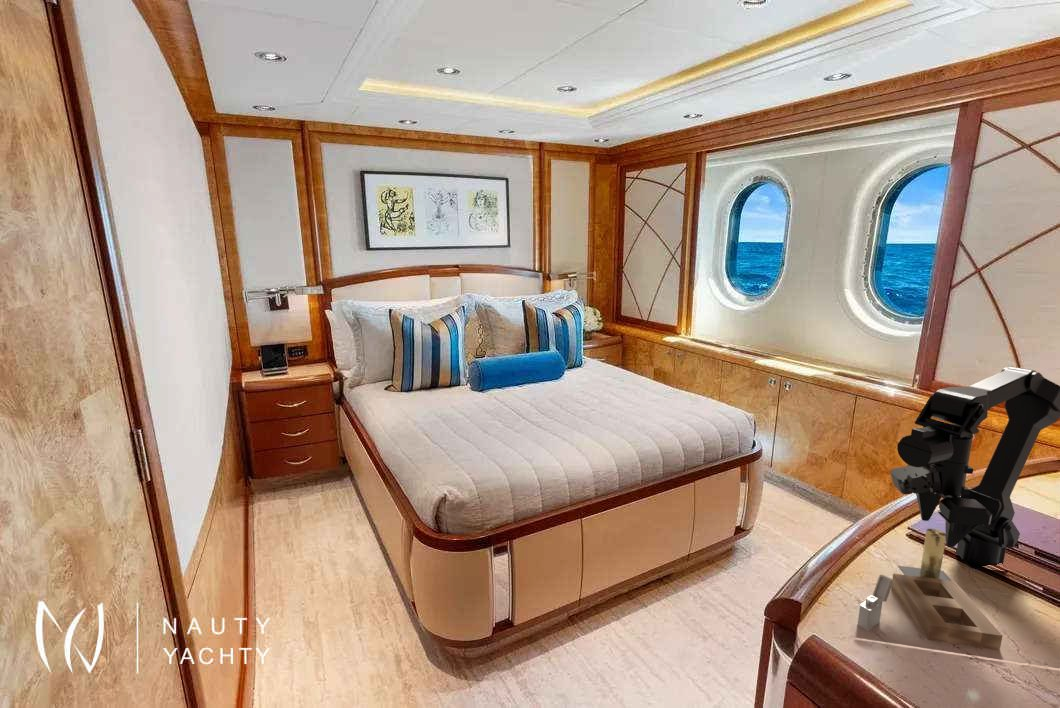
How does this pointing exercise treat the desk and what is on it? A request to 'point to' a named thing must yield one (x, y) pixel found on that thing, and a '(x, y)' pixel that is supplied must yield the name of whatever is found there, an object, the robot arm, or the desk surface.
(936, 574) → the peg
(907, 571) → the mat
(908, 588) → the hole block
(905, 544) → the desk surface
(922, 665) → the desk surface
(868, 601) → the lighter
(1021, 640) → the desk surface
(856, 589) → the desk surface
